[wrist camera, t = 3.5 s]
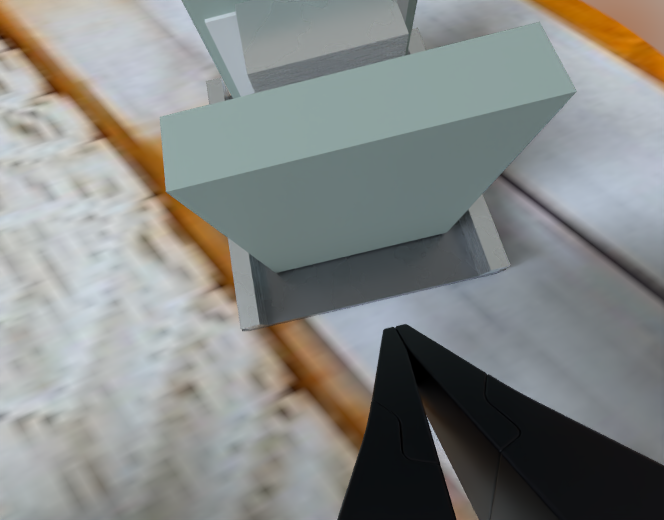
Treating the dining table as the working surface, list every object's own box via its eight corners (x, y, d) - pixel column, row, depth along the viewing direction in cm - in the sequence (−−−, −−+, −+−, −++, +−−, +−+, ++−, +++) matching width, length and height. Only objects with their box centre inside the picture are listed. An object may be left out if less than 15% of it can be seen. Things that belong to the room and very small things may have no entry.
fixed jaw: (399, 101, 19) (444, -135, 10) (252, 137, 19) (149, -57, 10) (389, 71, 20) (422, -178, 10) (247, 106, 20) (145, -104, 10)
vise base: (497, 273, 17) (520, 263, 15) (248, 331, 17) (231, 331, 15) (417, 61, 21) (425, 26, 19) (216, 111, 21) (198, 83, 19)
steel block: (386, 160, 18) (408, 33, 10) (292, 183, 18) (247, 74, 11) (372, 114, 19) (383, -34, 11) (283, 136, 19) (234, 4, 11)
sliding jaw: (446, 232, 17) (576, 91, 7) (275, 273, 17) (166, 192, 7) (433, 193, 17) (534, 13, 7) (268, 232, 17) (158, 107, 8)
